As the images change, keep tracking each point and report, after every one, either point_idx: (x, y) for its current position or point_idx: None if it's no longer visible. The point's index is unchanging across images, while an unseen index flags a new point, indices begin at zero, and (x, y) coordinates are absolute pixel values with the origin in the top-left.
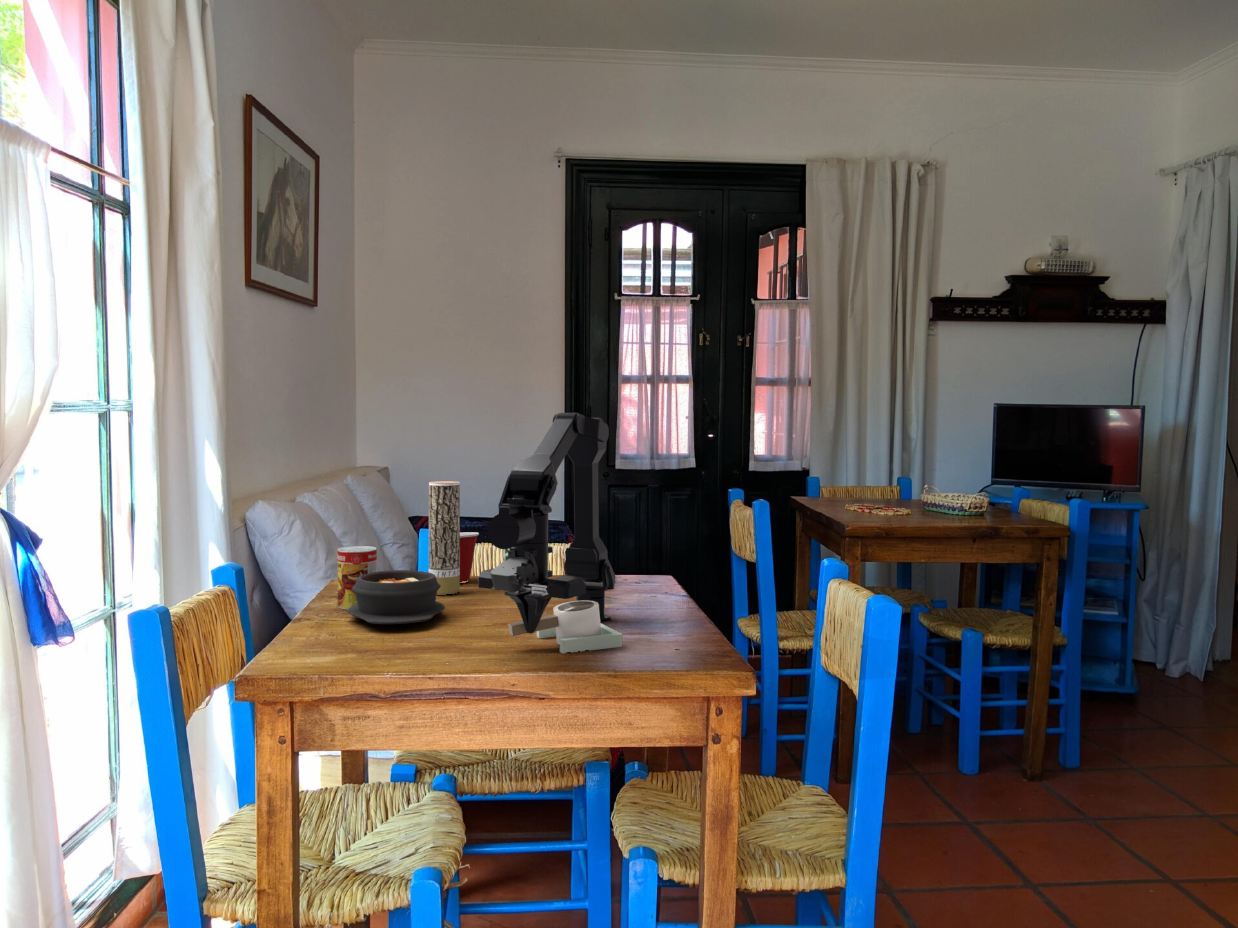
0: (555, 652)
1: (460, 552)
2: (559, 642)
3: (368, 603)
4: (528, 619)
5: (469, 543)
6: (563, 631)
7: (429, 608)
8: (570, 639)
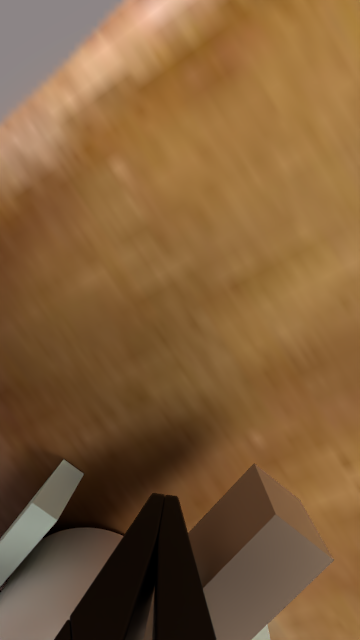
0: (92, 461)
1: None
2: None
3: None
4: (136, 579)
5: None
6: (77, 595)
7: None
8: (16, 527)
